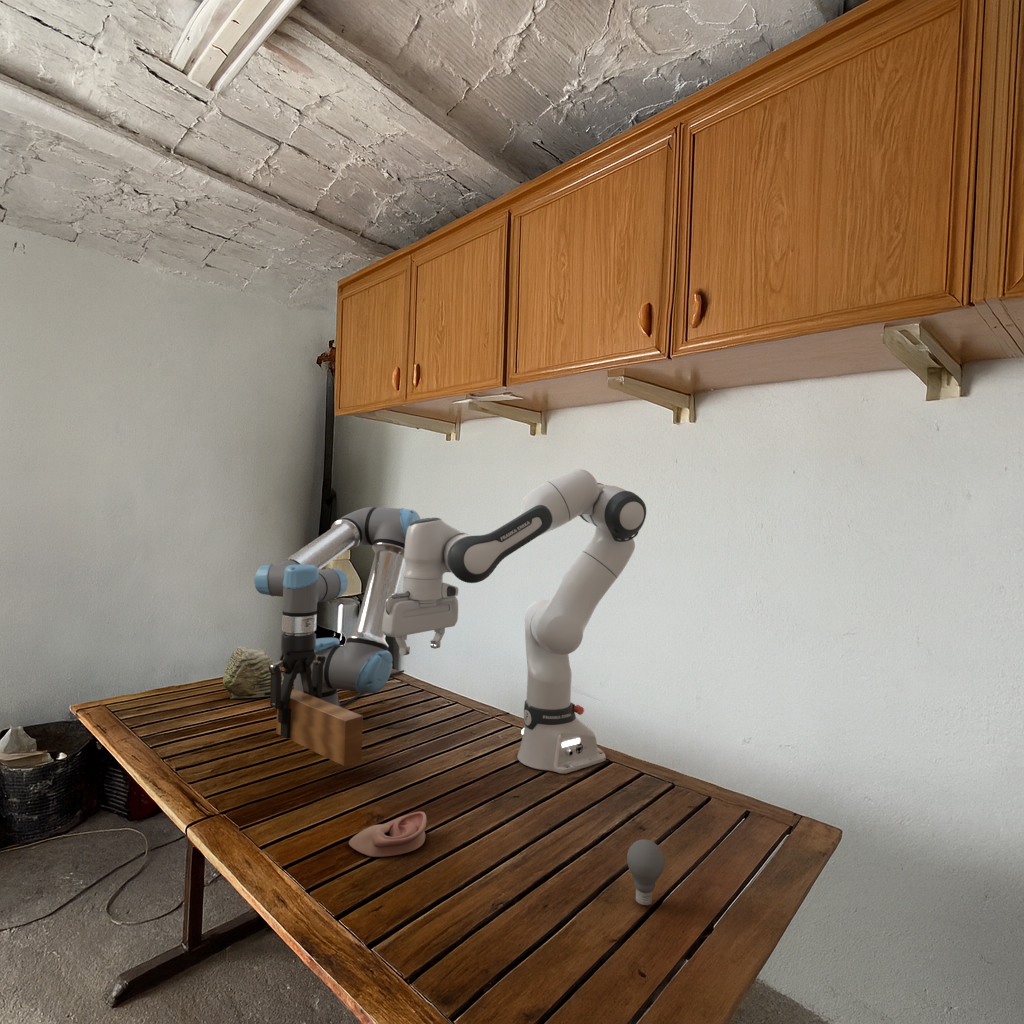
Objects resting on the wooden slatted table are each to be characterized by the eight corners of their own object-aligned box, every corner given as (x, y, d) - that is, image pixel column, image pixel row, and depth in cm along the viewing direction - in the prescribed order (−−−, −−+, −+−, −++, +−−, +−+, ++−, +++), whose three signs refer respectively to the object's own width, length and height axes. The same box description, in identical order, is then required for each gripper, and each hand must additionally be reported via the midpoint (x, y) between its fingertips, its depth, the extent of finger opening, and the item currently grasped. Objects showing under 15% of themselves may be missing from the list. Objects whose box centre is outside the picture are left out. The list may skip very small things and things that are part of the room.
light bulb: (620, 891, 105) (623, 832, 105) (655, 891, 106) (658, 832, 106) (630, 915, 99) (633, 852, 99) (667, 914, 100) (670, 852, 100)
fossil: (218, 695, 195) (220, 647, 195) (278, 685, 208) (279, 640, 207) (228, 703, 189) (230, 653, 188) (289, 692, 201) (290, 645, 201)
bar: (275, 733, 147) (277, 692, 146) (293, 728, 150) (294, 688, 150) (344, 766, 130) (345, 720, 130) (361, 760, 134) (363, 715, 134)
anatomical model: (341, 830, 113) (368, 800, 124) (340, 851, 113) (367, 820, 124) (411, 841, 110) (433, 810, 122) (411, 863, 111) (432, 830, 122)
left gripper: (272, 641, 136) (268, 748, 136) (341, 630, 149) (337, 728, 150) (254, 635, 140) (250, 739, 141) (322, 624, 154) (318, 720, 155)
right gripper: (396, 595, 132) (394, 661, 132) (463, 587, 148) (461, 646, 148) (377, 592, 136) (374, 656, 136) (444, 584, 152) (442, 642, 152)
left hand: (295, 733), depth 145 cm, fingers closed on bar, 4 cm apart
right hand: (420, 651), depth 142 cm, fingers open, 8 cm apart
